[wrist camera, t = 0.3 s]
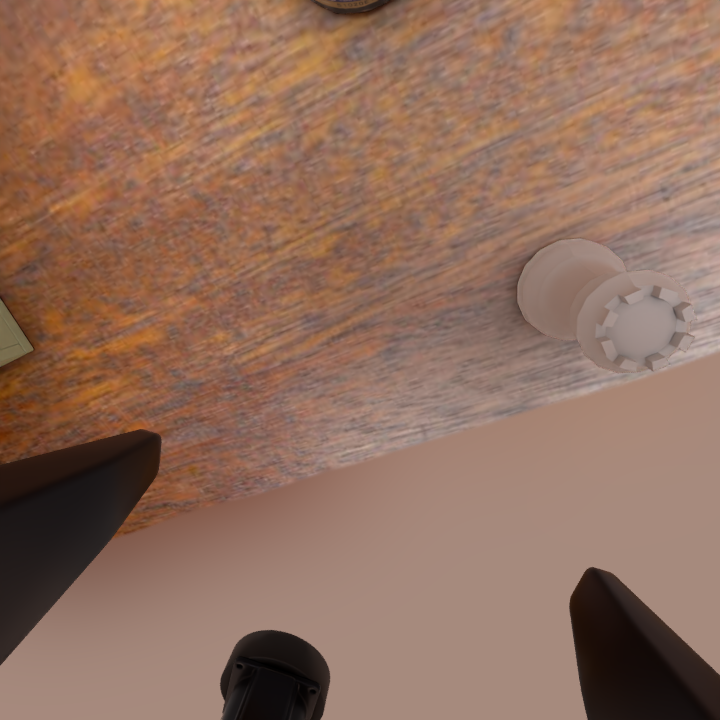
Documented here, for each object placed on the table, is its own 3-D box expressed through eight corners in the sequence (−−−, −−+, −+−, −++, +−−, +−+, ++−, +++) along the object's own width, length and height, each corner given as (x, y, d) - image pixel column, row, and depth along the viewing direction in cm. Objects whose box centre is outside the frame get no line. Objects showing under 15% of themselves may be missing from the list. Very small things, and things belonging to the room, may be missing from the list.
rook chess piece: (505, 254, 20) (552, 278, 12) (610, 224, 19) (731, 229, 11) (524, 344, 21) (578, 416, 13) (624, 320, 20) (742, 383, 12)
